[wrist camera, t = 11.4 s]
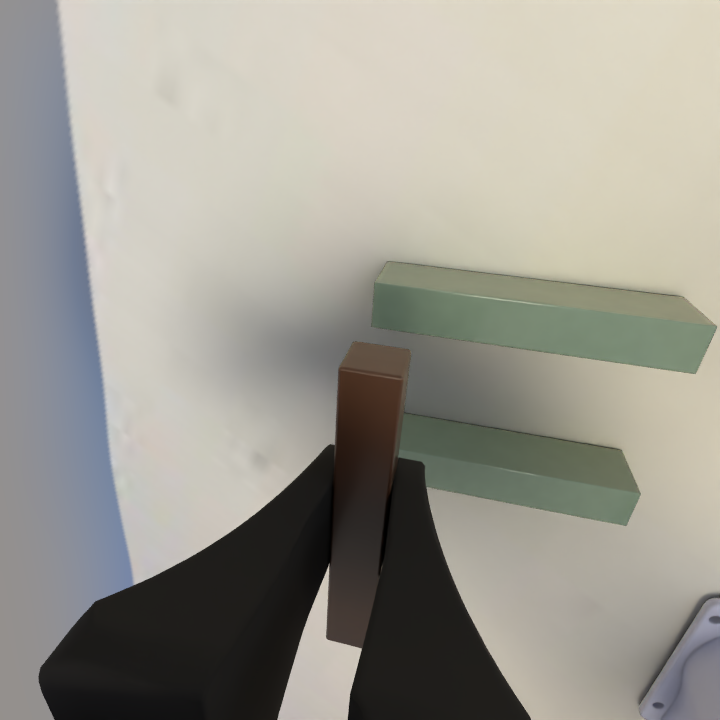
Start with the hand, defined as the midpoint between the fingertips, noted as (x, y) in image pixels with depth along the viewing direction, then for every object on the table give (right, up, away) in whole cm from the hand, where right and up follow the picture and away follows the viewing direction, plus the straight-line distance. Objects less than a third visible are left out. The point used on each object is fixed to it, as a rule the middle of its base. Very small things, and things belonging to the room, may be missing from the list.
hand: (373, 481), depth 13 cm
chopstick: (0, 0, 0) cm, 1 cm away
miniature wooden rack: (+5, +3, +6) cm, 8 cm away
